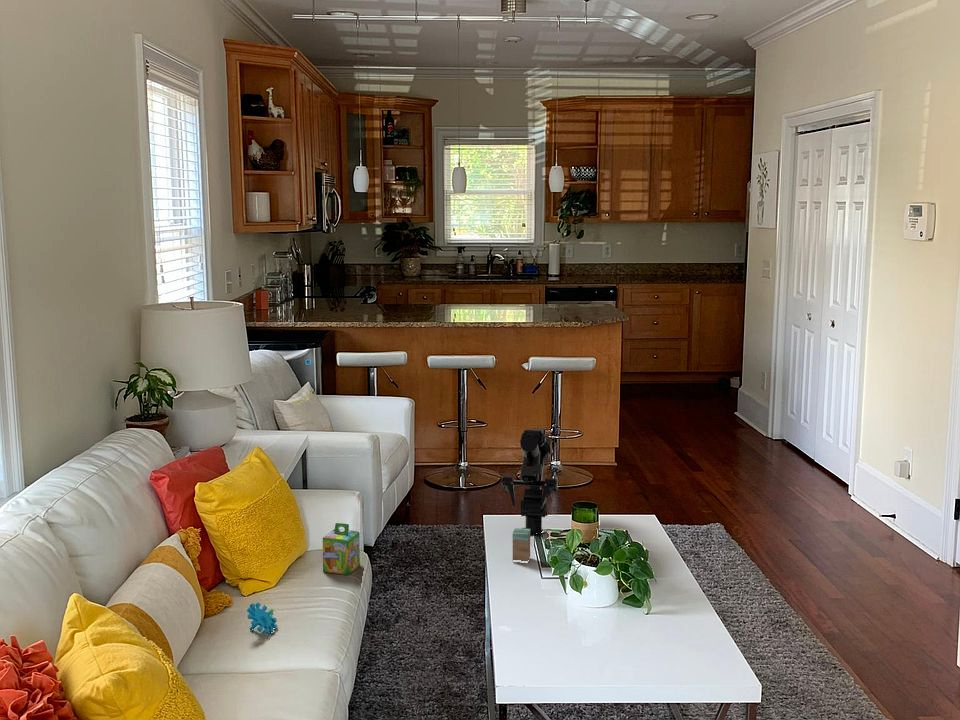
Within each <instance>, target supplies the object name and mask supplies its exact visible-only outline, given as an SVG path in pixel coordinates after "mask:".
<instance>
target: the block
mask: <svg viewBox="0 0 960 720" xmlns="http://www.w3.org/2000/svg"><path fill="white" fill-rule="evenodd" d="M522 528H523V527H521V528H520V527H519V528H518V527H515V528H514V530H513V532H512V561H513V560H521V561H528V560H529V557H530V558H531V535H530V529H522ZM529 561H530V560H529Z"/></svg>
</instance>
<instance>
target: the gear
mask: <svg viewBox="0 0 960 720" xmlns="http://www.w3.org/2000/svg"><path fill="white" fill-rule="evenodd" d="M260 607H261V608H260ZM267 610H268V607H267V606H266V605H265V604H264V605H261V603H260V602H256V603H254V602H253V603H250V604H249V607H248V608H247V609H246V612H247V613H248V614H247V619H248V620H252V621H250V624H251V626H250V627H249V631H251V630H252V629H253V630H255V629H256V630H257V631H258V633H261V632H262V631H263V630H264V631H263V634H264V635H266V636H268V635H269V634H271V633H270V632H273V630H274V629H273V628H276V627H277V626H278V624H277V621H278V619H277V618H276V617H273V616H274V612H275V610H274V609H273V608H271V609H269V610H268V611H267ZM277 628H278V627H277ZM277 628H276V629H277ZM253 630H252V631H253ZM269 631H270V632H269ZM267 634H268V635H267Z"/></svg>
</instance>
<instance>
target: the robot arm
mask: <svg viewBox="0 0 960 720" xmlns="http://www.w3.org/2000/svg"><path fill="white" fill-rule="evenodd" d="M546 429H547V428H540V427H539V428H538V427H534V428H531V429H530V428H529V429H527V428H525V429H524V430H523V432H522V433H521V436H520V440H519V444H520V448H521V453H522V455H523V456H522V465H521V466H520V475H519V477H520V479H514V476H513V475H502V476H501V477H500V485H501V488H502V489H503V490H505V491H506V492H508V493H509V495H510V499H511V500H510V501H511V504H512V508H513V509H514V508H515V507H516V506H515V505H516V495H515V493H516V492H515V487H517V486H518V487H519V486H520V487H528V488H525V489H524V490H523V491H524V492H523V496H522V499H520V516H521V517H525V527H521V528H522V529H530V536H533V535H532V534H536V533H541V532H542V531H543V530H544V529H543V527H542V526H543V525H542V524H543V518H546V517H548V504H547V500H548V498H549V497H550V496H551V494H554V492H558V491H559V484H558V479H557V478H556V477H545V478H544V480H543V476H544V467H545V464H546V463H547V462H549V460H550V455H552V453H553V452H552V451H553V449H552V448H553V446H552V438H551V436H550V435H548V434H547V430H546ZM542 488H543V489H542ZM536 535H537V534H536Z"/></svg>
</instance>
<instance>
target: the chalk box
mask: <svg viewBox="0 0 960 720" xmlns="http://www.w3.org/2000/svg"><path fill="white" fill-rule="evenodd" d="M349 525H350V524H348V523H342V522H341V523H340V522H336V523H335V524H334V529H333V530H331V531H329V532H328V533H327V534H326V535H325V536H323V537H322V572H323V573H330V574H338V575H345V576H350V575H351V573H353V571H355V570H356V569H358V568H359V566H360V565H361V548H360V547H361V544H360V543H361V541H360V538H361V537H360V535H361V534H360V531H357V530H350V529H349V528H350V526H349ZM341 527H342V528H343V529H341Z"/></svg>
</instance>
